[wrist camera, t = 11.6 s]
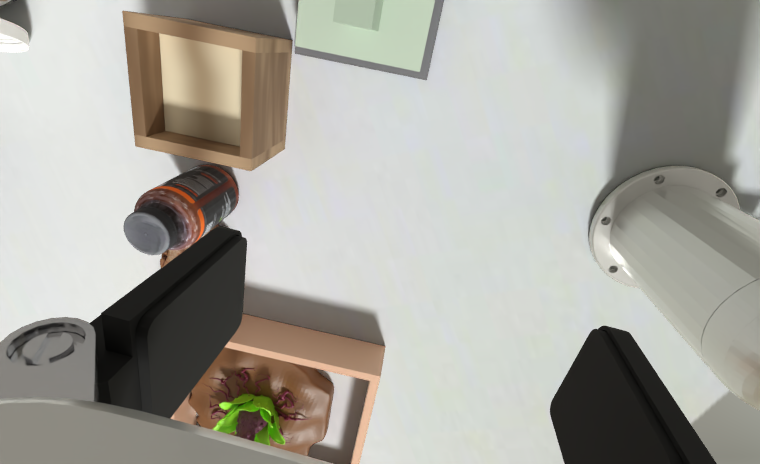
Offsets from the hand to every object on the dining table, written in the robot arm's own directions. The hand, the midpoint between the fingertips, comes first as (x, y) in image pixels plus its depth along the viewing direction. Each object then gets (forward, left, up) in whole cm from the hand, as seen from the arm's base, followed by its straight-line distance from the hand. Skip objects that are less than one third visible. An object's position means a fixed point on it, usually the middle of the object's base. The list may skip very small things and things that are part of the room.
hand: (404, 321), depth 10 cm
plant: (+14, +40, -30) cm, 52 cm away
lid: (+7, -10, -29) cm, 31 cm away
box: (+18, 0, -29) cm, 35 cm away
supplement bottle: (+21, +11, -30) cm, 38 cm away
